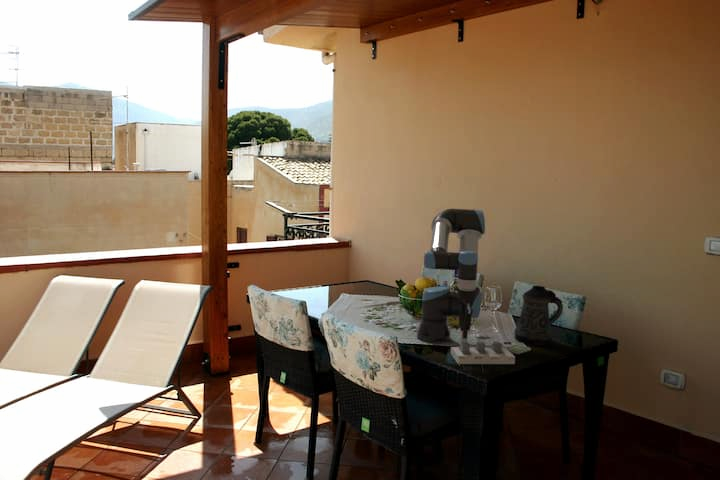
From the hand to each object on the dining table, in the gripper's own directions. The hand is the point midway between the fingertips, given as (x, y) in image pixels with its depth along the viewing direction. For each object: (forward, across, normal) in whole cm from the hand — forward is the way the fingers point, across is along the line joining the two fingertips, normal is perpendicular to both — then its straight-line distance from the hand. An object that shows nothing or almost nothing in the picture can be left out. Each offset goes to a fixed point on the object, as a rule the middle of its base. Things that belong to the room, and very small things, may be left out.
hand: (463, 345), depth 245 cm
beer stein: (+5, -24, +40) cm, 47 cm away
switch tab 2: (+2, 0, +7) cm, 8 cm away
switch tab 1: (+2, +2, 0) cm, 3 cm away
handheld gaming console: (+5, -12, +24) cm, 28 cm away
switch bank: (+5, +3, +7) cm, 9 cm away
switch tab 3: (+2, 0, +14) cm, 14 cm away
